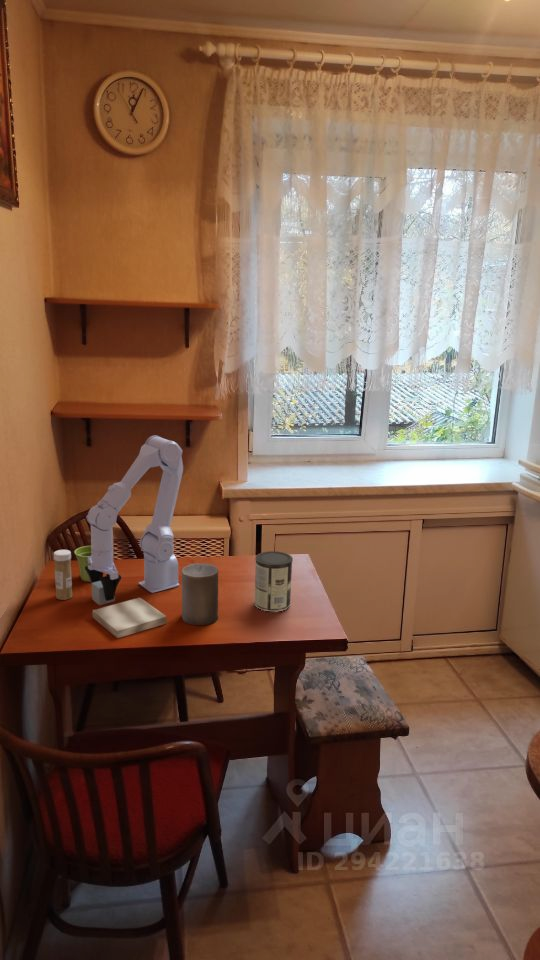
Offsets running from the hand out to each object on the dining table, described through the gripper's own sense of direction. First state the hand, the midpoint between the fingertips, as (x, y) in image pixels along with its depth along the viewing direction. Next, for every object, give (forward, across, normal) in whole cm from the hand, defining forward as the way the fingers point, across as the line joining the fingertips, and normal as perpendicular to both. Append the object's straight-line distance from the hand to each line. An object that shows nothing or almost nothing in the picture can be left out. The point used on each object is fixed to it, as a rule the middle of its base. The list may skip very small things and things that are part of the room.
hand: (103, 594), depth 189 cm
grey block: (+2, 0, 0) cm, 2 cm away
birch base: (+2, +15, 0) cm, 15 cm away
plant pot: (+2, -16, +4) cm, 17 cm away
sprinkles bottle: (+2, -8, -8) cm, 11 cm away
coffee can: (+2, +29, +37) cm, 47 cm away
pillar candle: (+2, +24, +16) cm, 29 cm away
